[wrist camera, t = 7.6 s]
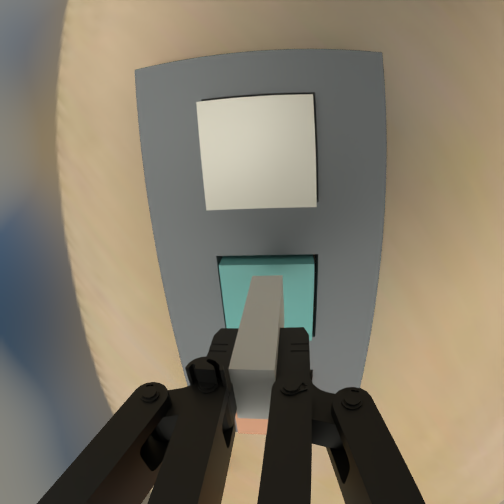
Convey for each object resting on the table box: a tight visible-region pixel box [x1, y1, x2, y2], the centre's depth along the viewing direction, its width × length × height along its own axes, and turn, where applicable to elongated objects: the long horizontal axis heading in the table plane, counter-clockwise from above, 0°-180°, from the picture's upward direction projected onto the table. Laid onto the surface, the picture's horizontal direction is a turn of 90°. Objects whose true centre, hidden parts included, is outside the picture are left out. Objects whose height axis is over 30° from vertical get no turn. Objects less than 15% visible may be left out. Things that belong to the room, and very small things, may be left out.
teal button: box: [219, 254, 314, 341], centre depth 23 cm, size 6×6×3 cm
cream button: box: [196, 94, 317, 210], centre depth 18 cm, size 6×6×3 cm
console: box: [135, 49, 387, 432], centre depth 23 cm, size 32×15×3 cm, turn 4°
